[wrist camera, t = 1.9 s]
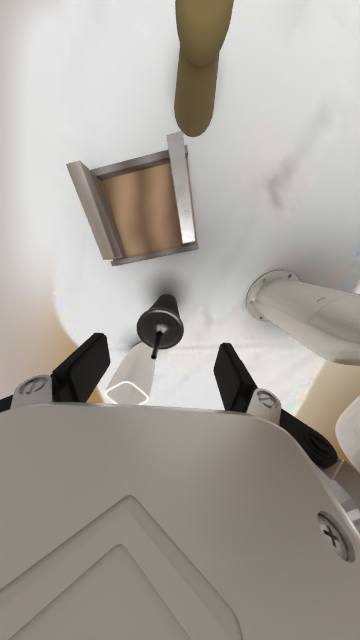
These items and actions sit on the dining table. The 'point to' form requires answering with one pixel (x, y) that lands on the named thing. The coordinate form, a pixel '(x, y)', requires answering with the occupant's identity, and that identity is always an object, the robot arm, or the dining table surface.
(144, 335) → the drinking cup
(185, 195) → the sliding jaw
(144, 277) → the dining table surface
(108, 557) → the robot arm
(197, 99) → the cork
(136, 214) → the base
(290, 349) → the dining table surface
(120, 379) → the cup
